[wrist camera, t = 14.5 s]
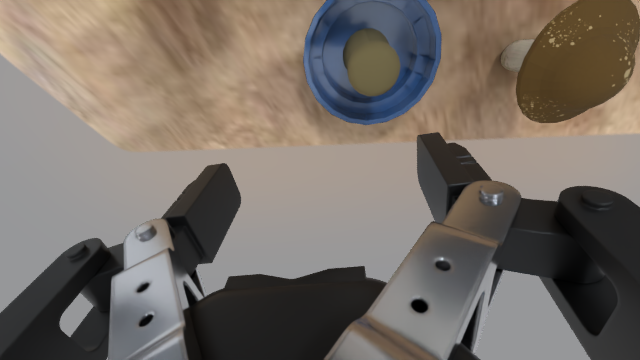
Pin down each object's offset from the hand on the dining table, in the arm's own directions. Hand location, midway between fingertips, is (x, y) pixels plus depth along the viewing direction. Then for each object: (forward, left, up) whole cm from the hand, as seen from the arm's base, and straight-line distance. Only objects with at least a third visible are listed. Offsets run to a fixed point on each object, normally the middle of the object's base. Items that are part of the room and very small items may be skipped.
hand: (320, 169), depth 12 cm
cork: (0, +4, -29) cm, 29 cm away
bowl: (0, +4, -30) cm, 30 cm away
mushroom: (+3, +22, -30) cm, 37 cm away
